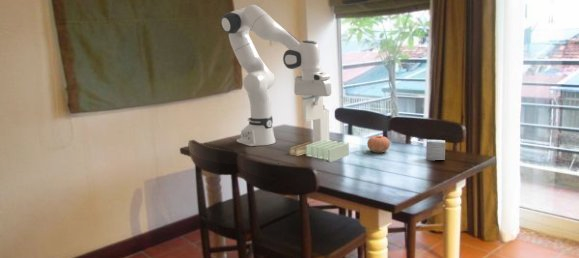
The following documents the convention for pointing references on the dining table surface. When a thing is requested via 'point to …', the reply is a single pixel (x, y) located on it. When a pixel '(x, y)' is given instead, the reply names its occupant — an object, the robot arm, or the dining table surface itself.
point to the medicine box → (435, 150)
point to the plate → (312, 108)
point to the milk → (321, 127)
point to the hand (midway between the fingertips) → (313, 105)
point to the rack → (327, 150)
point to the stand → (299, 149)
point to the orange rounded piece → (378, 144)
